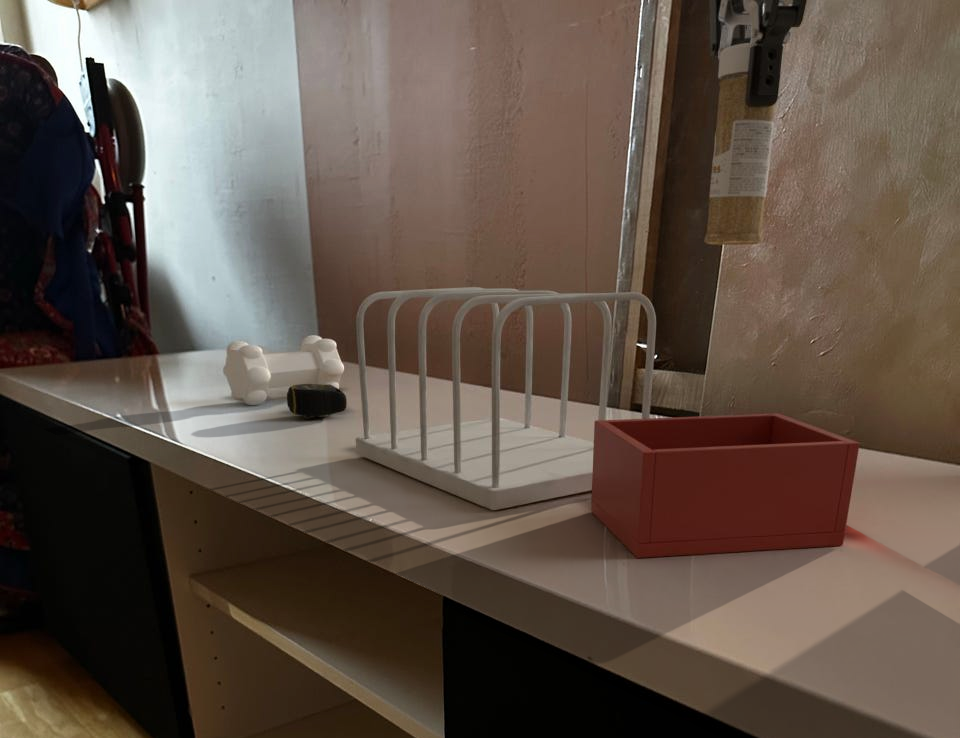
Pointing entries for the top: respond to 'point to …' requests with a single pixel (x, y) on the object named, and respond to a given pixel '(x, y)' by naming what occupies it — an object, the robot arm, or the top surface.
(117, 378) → the top surface
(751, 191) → the sprinkles bottle
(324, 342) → the bone shaped toy
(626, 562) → the top surface
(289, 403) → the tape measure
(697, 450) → the red storage bin
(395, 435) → the file sorter
